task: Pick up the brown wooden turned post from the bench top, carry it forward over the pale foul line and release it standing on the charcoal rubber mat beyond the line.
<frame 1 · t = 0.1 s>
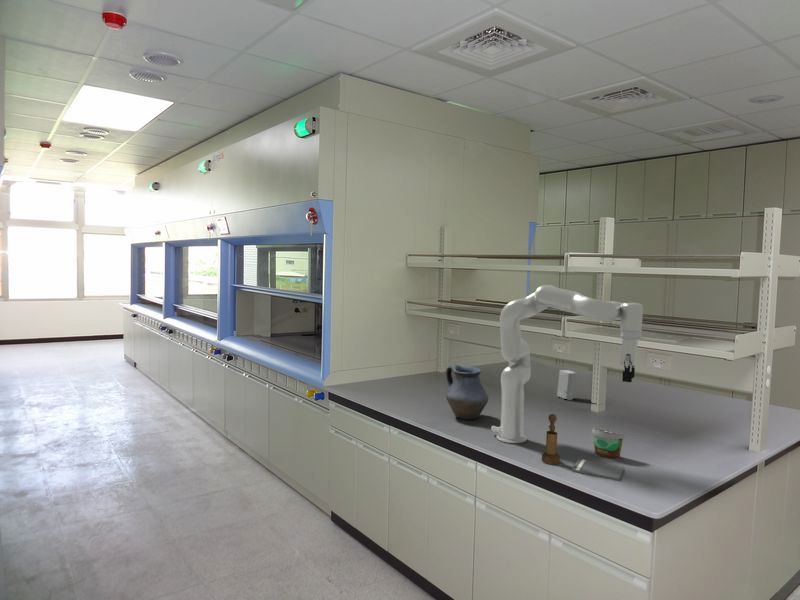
hand: (628, 379, 206), 31 cm above the counter, tool pointing down, fingers open, 9 cm apart
skincare box: (566, 399, 305), on the counter
food container: (605, 456, 211), on the counter
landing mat: (597, 470, 196), on the counter
pitcher: (464, 417, 263), on the counter
brown wooden turned post: (550, 461, 204), on the counter
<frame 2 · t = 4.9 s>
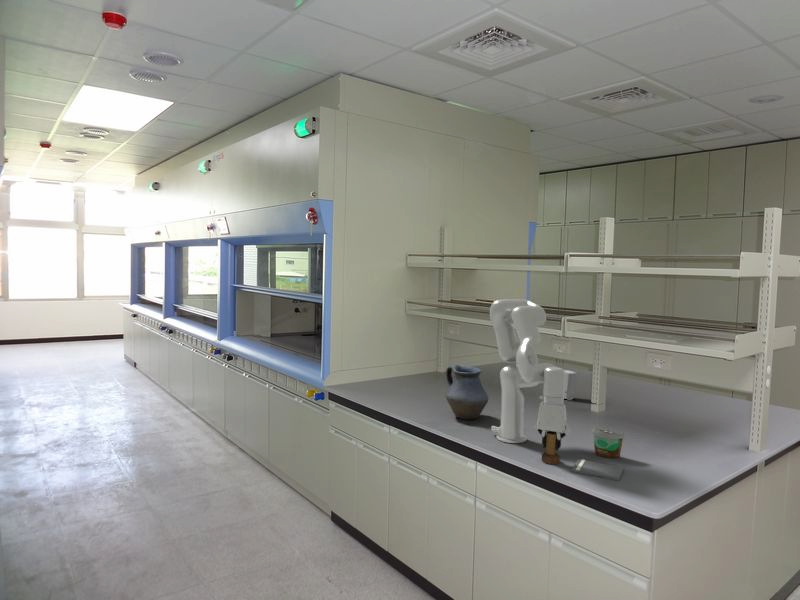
hand: (551, 447, 204), 5 cm above the counter, tool pointing down, fingers closed on brown wooden turned post, 4 cm apart
brown wooden turned post: (550, 461, 204), on the counter, touching gripper
everything else where it was.
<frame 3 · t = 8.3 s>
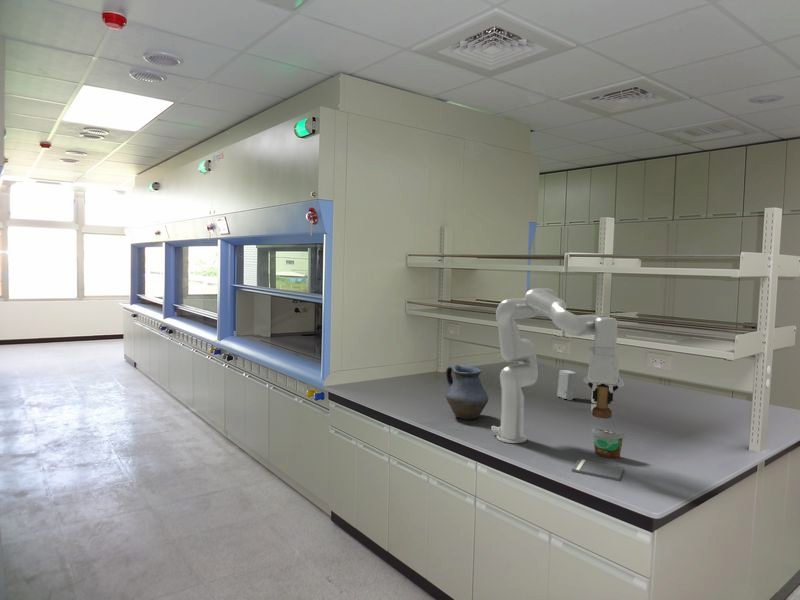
hand: (602, 401, 194), 25 cm above the counter, tool pointing down, fingers closed on brown wooden turned post, 4 cm apart
brown wooden turned post: (601, 416, 194), point 20 cm above the counter, touching gripper
everything else where it was.
when the fingers open (8 cm above the counter, at t = 12.0 s): brown wooden turned post drops 1 cm, resting on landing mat.
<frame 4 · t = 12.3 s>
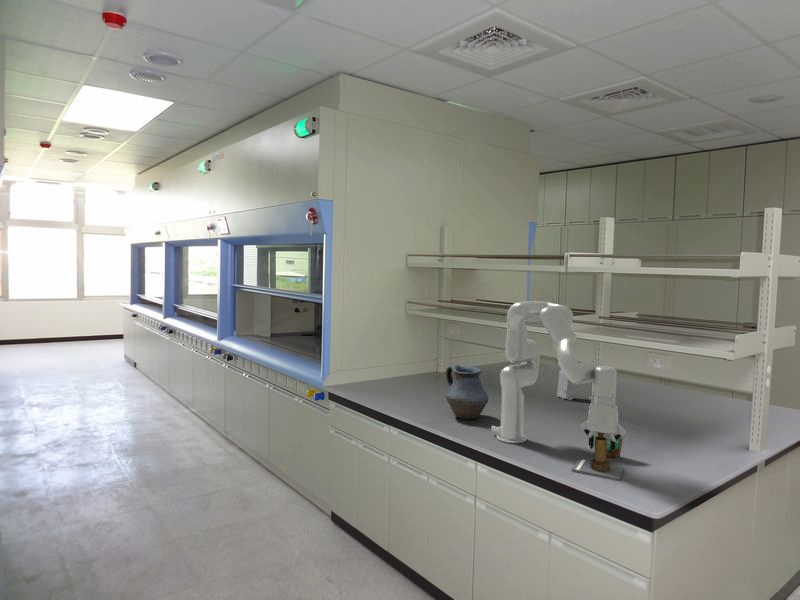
hand: (601, 449, 195), 8 cm above the counter, tool pointing down, fingers open, 6 cm apart
brown wooden turned post: (600, 468, 195), point 1 cm above the counter, touching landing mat
everything else where it was.
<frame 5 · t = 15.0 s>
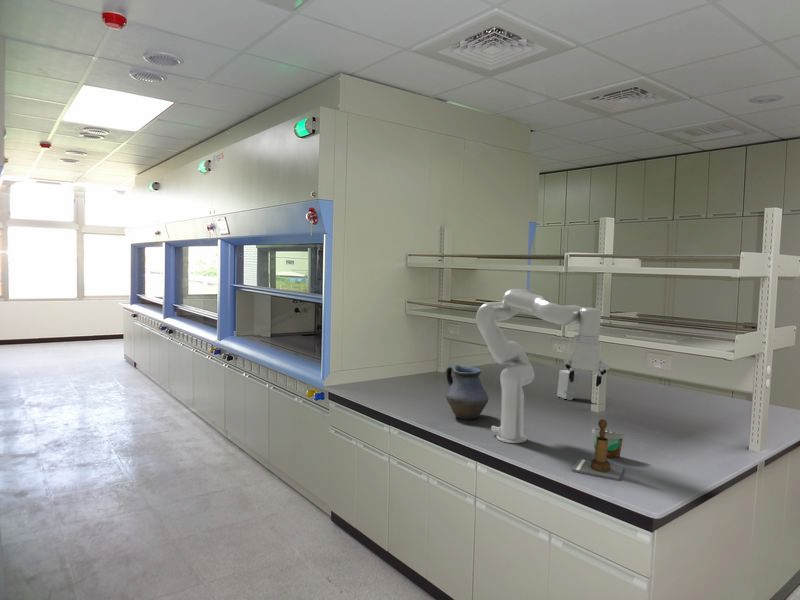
hand: (584, 383, 208), 29 cm above the counter, tool pointing down, fingers open, 9 cm apart
nothing on the counter moved.
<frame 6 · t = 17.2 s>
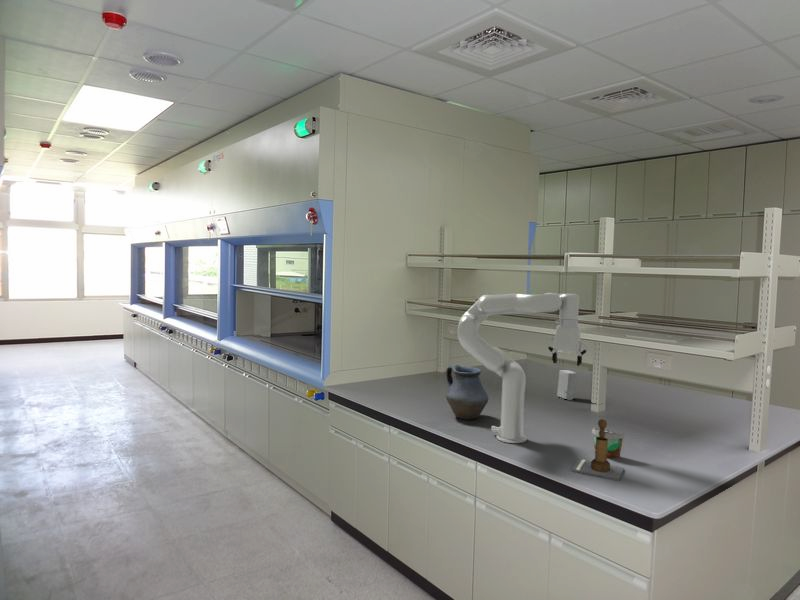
hand: (566, 364, 225), 33 cm above the counter, tool pointing down, fingers open, 9 cm apart
nothing on the counter moved.
at the end: brown wooden turned post inside the target area (1.0 cm from its centre), point 0.6 cm above the counter; brown wooden turned post tilted 0°; the gripper is holding nothing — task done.
